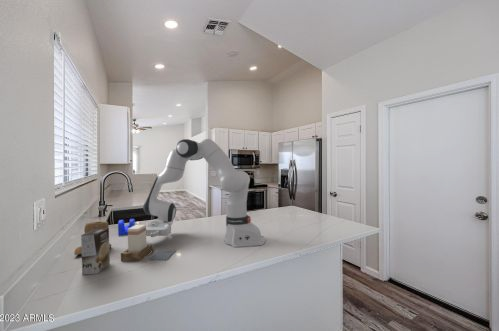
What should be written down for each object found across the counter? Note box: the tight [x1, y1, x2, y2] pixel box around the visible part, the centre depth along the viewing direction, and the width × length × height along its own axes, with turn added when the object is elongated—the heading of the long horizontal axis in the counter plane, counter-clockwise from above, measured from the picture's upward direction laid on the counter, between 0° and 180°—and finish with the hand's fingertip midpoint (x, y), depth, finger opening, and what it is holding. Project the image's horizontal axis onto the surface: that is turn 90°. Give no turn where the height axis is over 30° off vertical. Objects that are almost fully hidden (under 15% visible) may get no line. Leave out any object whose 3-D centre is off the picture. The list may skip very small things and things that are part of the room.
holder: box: [120, 243, 154, 262], centre depth 109 cm, size 9×12×4 cm
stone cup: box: [73, 220, 112, 256], centre depth 117 cm, size 15×12×15 cm
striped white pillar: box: [127, 224, 147, 253], centre depth 109 cm, size 5×7×14 cm
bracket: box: [117, 218, 136, 236], centre depth 151 cm, size 18×8×9 cm, turn 17°
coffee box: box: [80, 228, 111, 276], centre depth 96 cm, size 9×6×16 cm
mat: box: [146, 249, 176, 262], centre depth 109 cm, size 9×11×1 cm
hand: (143, 235), depth 114 cm, fingers open, 8 cm apart
